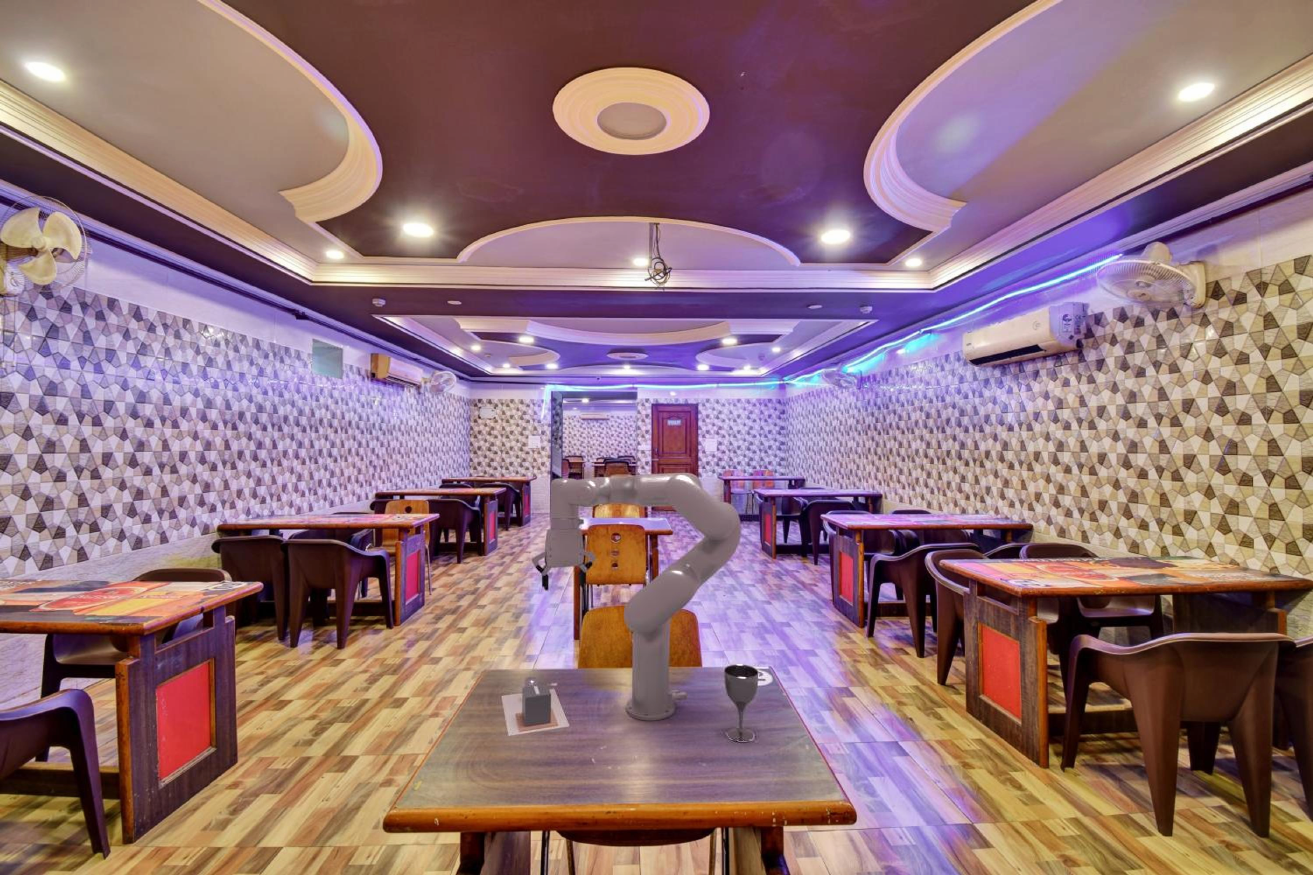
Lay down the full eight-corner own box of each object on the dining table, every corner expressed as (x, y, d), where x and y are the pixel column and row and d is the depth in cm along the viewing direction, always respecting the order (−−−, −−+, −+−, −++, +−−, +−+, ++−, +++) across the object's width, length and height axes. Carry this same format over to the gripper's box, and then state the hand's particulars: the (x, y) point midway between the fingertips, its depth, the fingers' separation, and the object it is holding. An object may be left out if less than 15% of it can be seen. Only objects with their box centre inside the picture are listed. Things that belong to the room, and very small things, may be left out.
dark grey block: (550, 722, 132) (551, 693, 132) (525, 726, 130) (525, 696, 130) (546, 711, 138) (547, 683, 138) (522, 715, 136) (522, 686, 136)
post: (535, 697, 146) (536, 676, 147) (537, 702, 144) (537, 680, 144) (524, 699, 145) (524, 677, 146) (525, 704, 143) (525, 682, 143)
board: (554, 694, 152) (554, 687, 152) (569, 732, 131) (569, 724, 131) (501, 701, 147) (501, 694, 147) (508, 742, 127) (508, 734, 127)
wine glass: (764, 734, 131) (764, 670, 132) (745, 747, 125) (745, 680, 126) (736, 723, 137) (736, 661, 137) (717, 735, 131) (717, 670, 131)
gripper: (592, 521, 157) (592, 582, 156) (530, 524, 151) (529, 587, 150) (599, 524, 150) (598, 588, 149) (534, 527, 144) (533, 594, 143)
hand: (564, 587), depth 150 cm, fingers open, 9 cm apart
